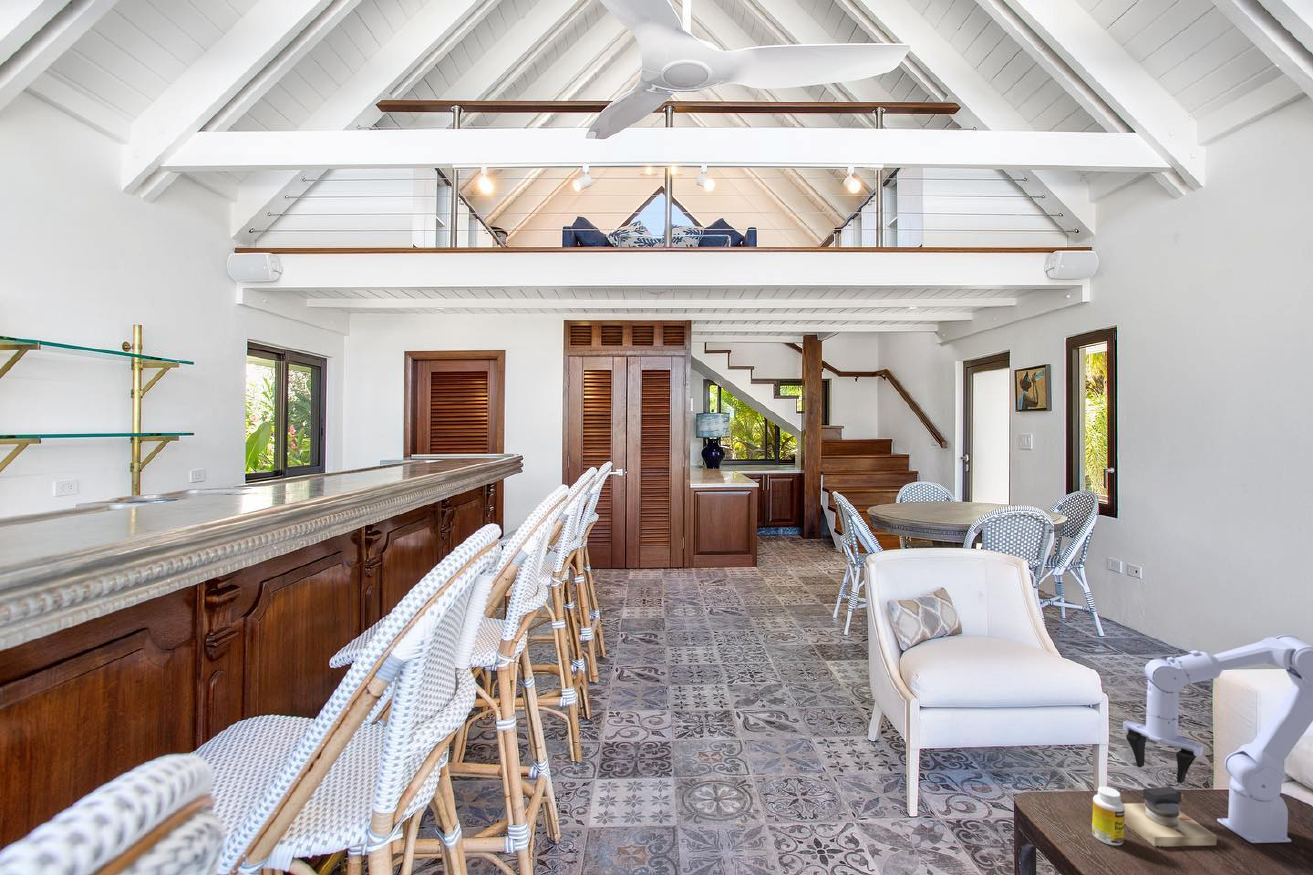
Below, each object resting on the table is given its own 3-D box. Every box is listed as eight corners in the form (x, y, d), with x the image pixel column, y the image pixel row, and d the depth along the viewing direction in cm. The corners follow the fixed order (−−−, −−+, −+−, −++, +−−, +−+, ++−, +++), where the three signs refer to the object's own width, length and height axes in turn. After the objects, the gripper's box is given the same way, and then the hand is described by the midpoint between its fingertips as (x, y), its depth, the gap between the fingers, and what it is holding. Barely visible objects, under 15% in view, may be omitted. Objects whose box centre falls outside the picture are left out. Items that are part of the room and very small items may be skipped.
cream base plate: (1167, 811, 148) (1167, 793, 147) (1216, 844, 136) (1217, 826, 136) (1109, 812, 146) (1110, 795, 146) (1154, 846, 135) (1155, 827, 134)
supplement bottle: (1116, 850, 133) (1118, 801, 133) (1087, 835, 138) (1088, 788, 138) (1128, 841, 136) (1129, 793, 136) (1098, 827, 141) (1100, 781, 141)
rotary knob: (1135, 801, 143) (1136, 784, 143) (1167, 799, 145) (1167, 781, 145) (1160, 818, 137) (1161, 799, 137) (1193, 815, 139) (1194, 797, 139)
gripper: (1117, 706, 150) (1115, 763, 150) (1195, 731, 138) (1192, 794, 138) (1131, 699, 154) (1129, 756, 154) (1207, 724, 141) (1205, 785, 142)
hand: (1160, 773), depth 146 cm, fingers open, 7 cm apart
